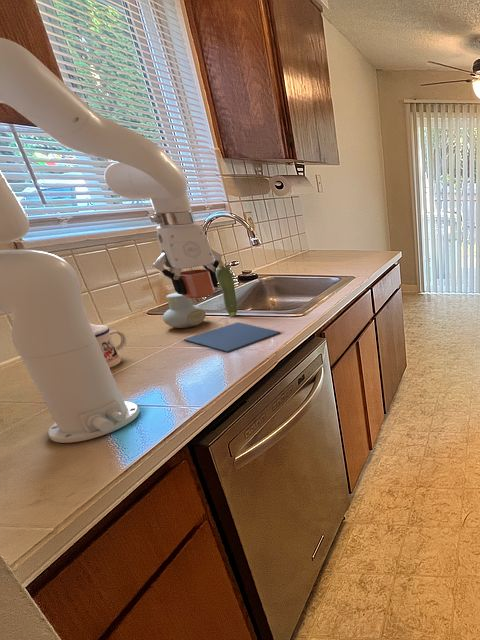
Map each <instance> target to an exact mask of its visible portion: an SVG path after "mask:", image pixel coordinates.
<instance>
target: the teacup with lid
mask: <svg viewBox="0 0 480 640" xmlns="http://www.w3.org/2000/svg"><path fill="white" fill-rule="evenodd" d="M90 325H91V328H92V330H93V332H94V335H95V337H96V339H97V341H98V343H99V346H100V348H101V350H102V352H103V355H104V357H105V359H106V361H107V364H108V366H109V368H110V369H111V368H114V367H115V366H118V365H119V364H120V363H121V361H122V359H121V356H120V354H119V352H118V351H120V350H122V349H123V348H124V347H125V346H126V343H127V337H126V335H125V333H124V332H122V331H121V330H110V328H109V327H108V326H107V325H103V324H93V323H90ZM116 334H117V335H119V336H120V343H119V344H118V345H117V346H116V345H115V342H114V340H113V337H112V335H116Z"/></svg>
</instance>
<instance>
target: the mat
mask: <svg viewBox="0 0 480 640" xmlns="http://www.w3.org/2000/svg"><path fill="white" fill-rule="evenodd" d="M279 334H281V331H277V330H273V329H269V328H263V327H259V326H255V325H251V324H247V323H242V322H235V323H232V324H231V323H230V324H228V325H226V326H221V327H218V328H216V329H213V330H209V331H206V332H202V333H200V334H195V335H193V336H190V337H186V338H184V339H183V340H184V341H185V342H189V343H192V344H196V345H200V346H202V347H207V348H210V349H213V350H214V349H215V350H217V351H220V352H224V353H231V352H234V351H236V350H238V349H241V348H243V347H246V346H249V345H253V344H254V343H257V342H260V341H263V340H266V339H269V338H271V337H274V336H276V335H279Z"/></svg>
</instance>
